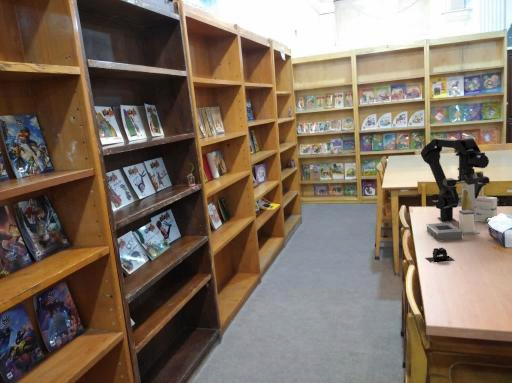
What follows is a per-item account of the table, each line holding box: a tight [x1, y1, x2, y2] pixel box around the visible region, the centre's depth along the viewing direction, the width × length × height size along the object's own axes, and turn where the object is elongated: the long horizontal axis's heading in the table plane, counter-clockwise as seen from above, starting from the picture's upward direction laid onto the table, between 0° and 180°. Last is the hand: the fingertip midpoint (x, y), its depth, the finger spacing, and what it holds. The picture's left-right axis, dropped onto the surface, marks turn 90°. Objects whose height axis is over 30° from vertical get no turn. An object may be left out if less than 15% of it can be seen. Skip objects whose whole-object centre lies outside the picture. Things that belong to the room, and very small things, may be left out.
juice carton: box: [461, 169, 485, 218], centre depth 204 cm, size 9×8×24 cm
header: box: [425, 222, 463, 242], centre depth 180 cm, size 14×10×4 cm
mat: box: [457, 227, 481, 236], centre depth 182 cm, size 8×8×1 cm
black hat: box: [424, 247, 456, 264], centre depth 153 cm, size 12×7×5 cm, turn 91°
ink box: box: [474, 195, 498, 223], centre depth 193 cm, size 9×5×12 cm, turn 39°
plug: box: [458, 209, 475, 232], centre depth 181 cm, size 4×4×9 cm
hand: (465, 199), depth 187 cm, fingers open, 9 cm apart
